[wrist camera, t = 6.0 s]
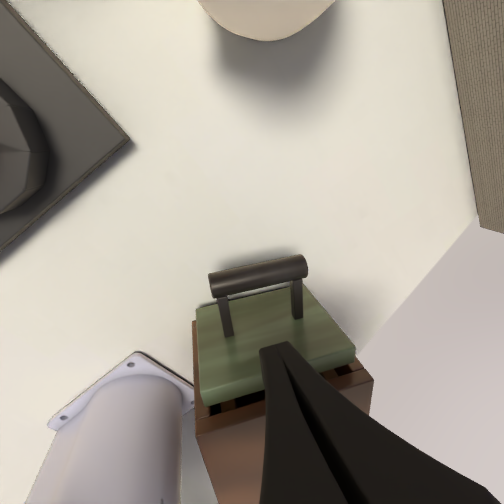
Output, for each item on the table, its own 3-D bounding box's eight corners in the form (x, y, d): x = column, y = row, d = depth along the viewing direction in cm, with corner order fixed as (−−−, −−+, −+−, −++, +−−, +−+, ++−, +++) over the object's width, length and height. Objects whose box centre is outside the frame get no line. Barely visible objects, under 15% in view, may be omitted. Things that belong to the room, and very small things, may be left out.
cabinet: (191, 320, 19) (195, 437, 12) (306, 293, 21) (374, 379, 13) (215, 407, 24) (228, 532, 16) (307, 379, 25) (360, 480, 18)
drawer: (181, 255, 16) (178, 322, 10) (302, 231, 18) (363, 278, 11) (217, 394, 22) (229, 490, 16) (305, 368, 23) (347, 447, 17)
